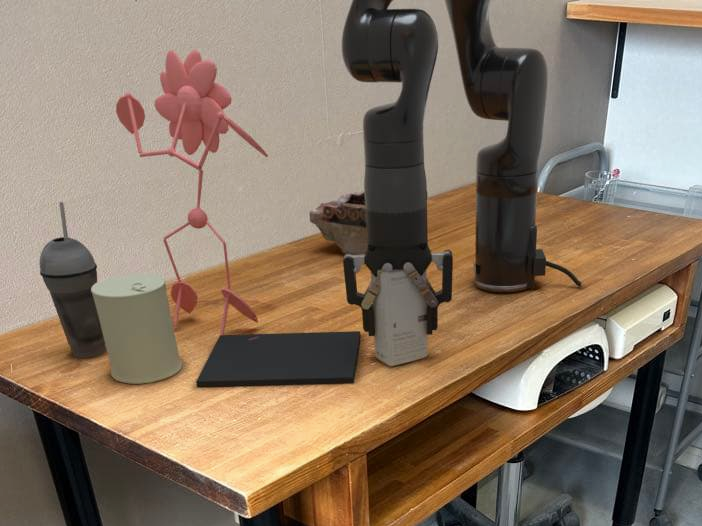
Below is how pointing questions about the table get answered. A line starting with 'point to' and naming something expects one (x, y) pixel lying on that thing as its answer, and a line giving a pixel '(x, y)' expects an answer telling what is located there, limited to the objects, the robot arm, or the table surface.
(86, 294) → the beverage cup
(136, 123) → the figurine
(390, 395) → the table surface
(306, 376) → the mat
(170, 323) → the can
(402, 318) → the cosmetic box
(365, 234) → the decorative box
